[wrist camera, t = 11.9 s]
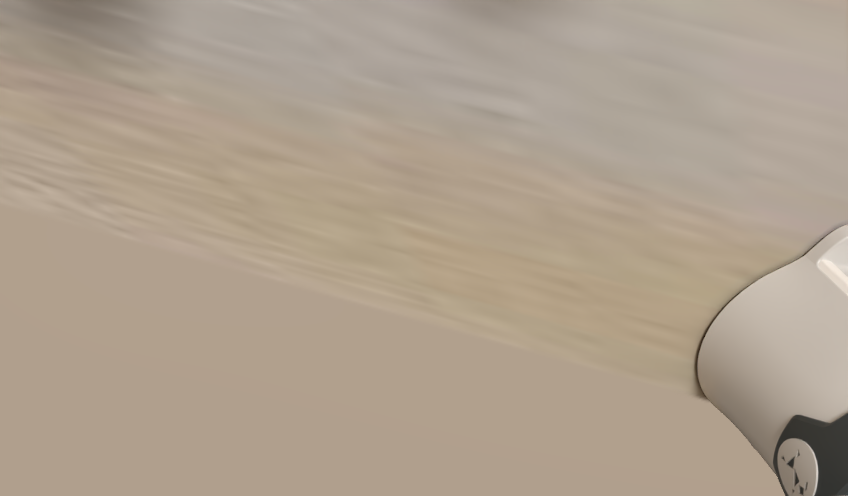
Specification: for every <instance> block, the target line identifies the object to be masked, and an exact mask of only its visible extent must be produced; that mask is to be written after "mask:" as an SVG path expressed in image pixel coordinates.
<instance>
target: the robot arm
mask: <svg viewBox="0 0 848 496" xmlns="http://www.w3.org/2000/svg"><path fill="white" fill-rule="evenodd" d="M698 378H699V382H700V385H701V388H702V390H703V392H704V394H705V396H706V397H707V398H708V400H709V401H710V402H711V403H712V404H713V405H714V406H715V407H716V408H717V409H719V410H720V411H721V412H722V413H723V414H724V415H725V416H726V417H727V418H728V419H729V420H730V421H731V422H732V423H733V424H734V425H735V426H736V427H737V428H738V429H739V430H740V431H741V432H742V433H743V435H744V436H745V437H746V438H747V439H748V441H749V442H750V443H751V445H752V446H753V447H754V448H755V449H756V450H757V451H758V453H759V454H760V455H761V456H762V458H763V459H764V460H765V461H766V462H767V464H768V465H769V466H770V468H771V469H772V470H773V471H774V473H775V474H776V475H777V477H778V479H779V482H780V484H781V487H782V489H783V491H784V493H785V496H848V225H845V226H842V227H840V228H838V229H836V230H834V231H833V232H831V233H830V234H829V235H827V236H826V237H825V238H824V239H822V240H821V241H820V242H819V243H818V244H817V245H816V246H814V247H813V248H812V249H811V250H810V251H809V252H808V253H807V254H806V255H804V256H803V257H801V258H800V259H798V260H796V261H794V262H792V263H790V264H788V265H786V266H784V267H782V268H780V269H778V270H776V271H774V272H772V273H770V274H768V275H766V276H764V277H762V278H761V279H759V280H757V281H756V282H754V283H753V284H751V285H750V286H749V287H747V288H746V289H745V290H743V291H742V292H741V293H740V294H738V295H737V296H736V297H735V298H734V299H733V300H732V301H731V302H730V303H729V304H728V305H727V306H726V307H725V308H724V309H723V310H722V311H721V313H720V314H719V315H718V316H717V318H716V319H715V320H714V322H713V323H712V325H711V326H710V328H709V330H708V332H707V333H706V336H705V338H704V340H703V342H702V345H701V348H700V352H699V357H698Z"/></svg>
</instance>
